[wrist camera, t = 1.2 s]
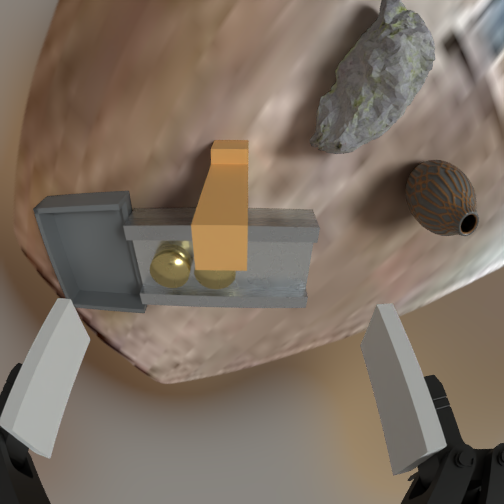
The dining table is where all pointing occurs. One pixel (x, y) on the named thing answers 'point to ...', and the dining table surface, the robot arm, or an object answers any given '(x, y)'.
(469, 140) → the dining table surface
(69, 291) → the tray
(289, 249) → the slot rail
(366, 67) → the mineral specimen
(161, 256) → the gold domed disc
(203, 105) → the dining table surface
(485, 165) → the dining table surface
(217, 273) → the gold domed disc
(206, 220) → the orange l-shaped bar
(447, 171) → the vase
